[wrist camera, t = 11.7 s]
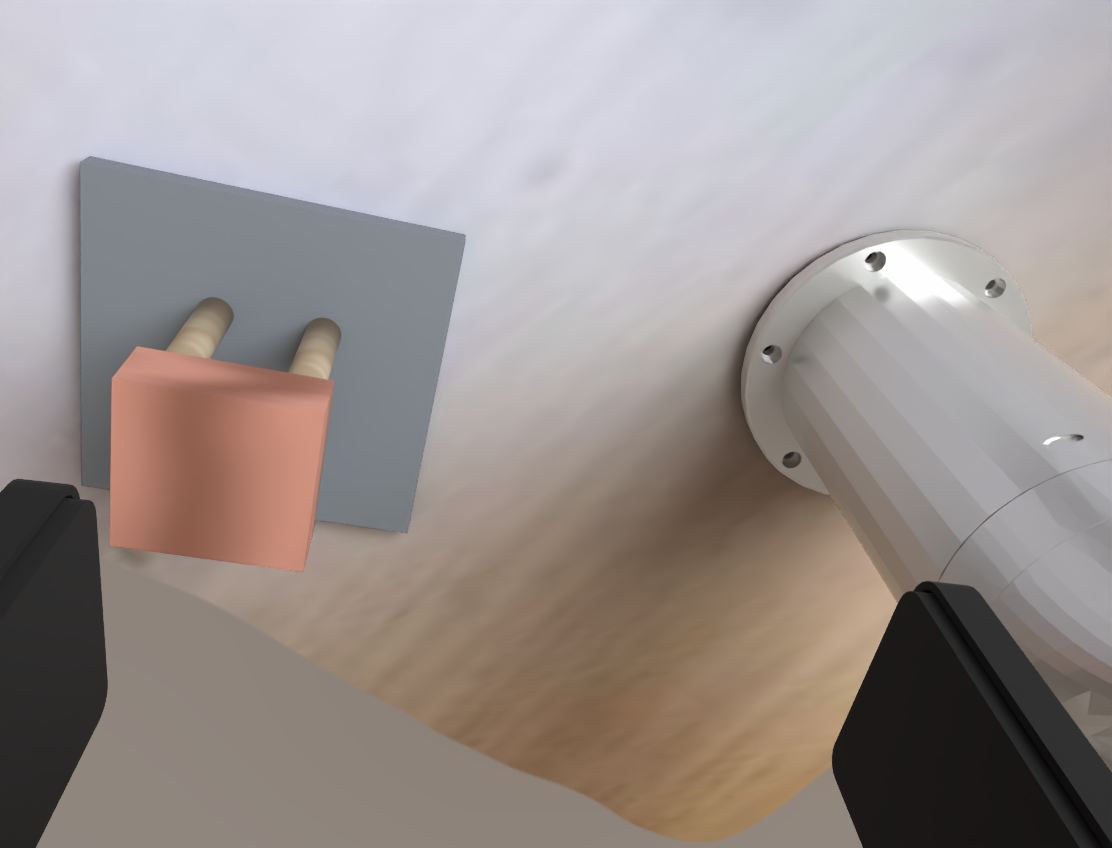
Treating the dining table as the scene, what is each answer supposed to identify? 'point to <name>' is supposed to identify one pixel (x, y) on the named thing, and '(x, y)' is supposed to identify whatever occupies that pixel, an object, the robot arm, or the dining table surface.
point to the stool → (220, 447)
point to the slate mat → (272, 314)
